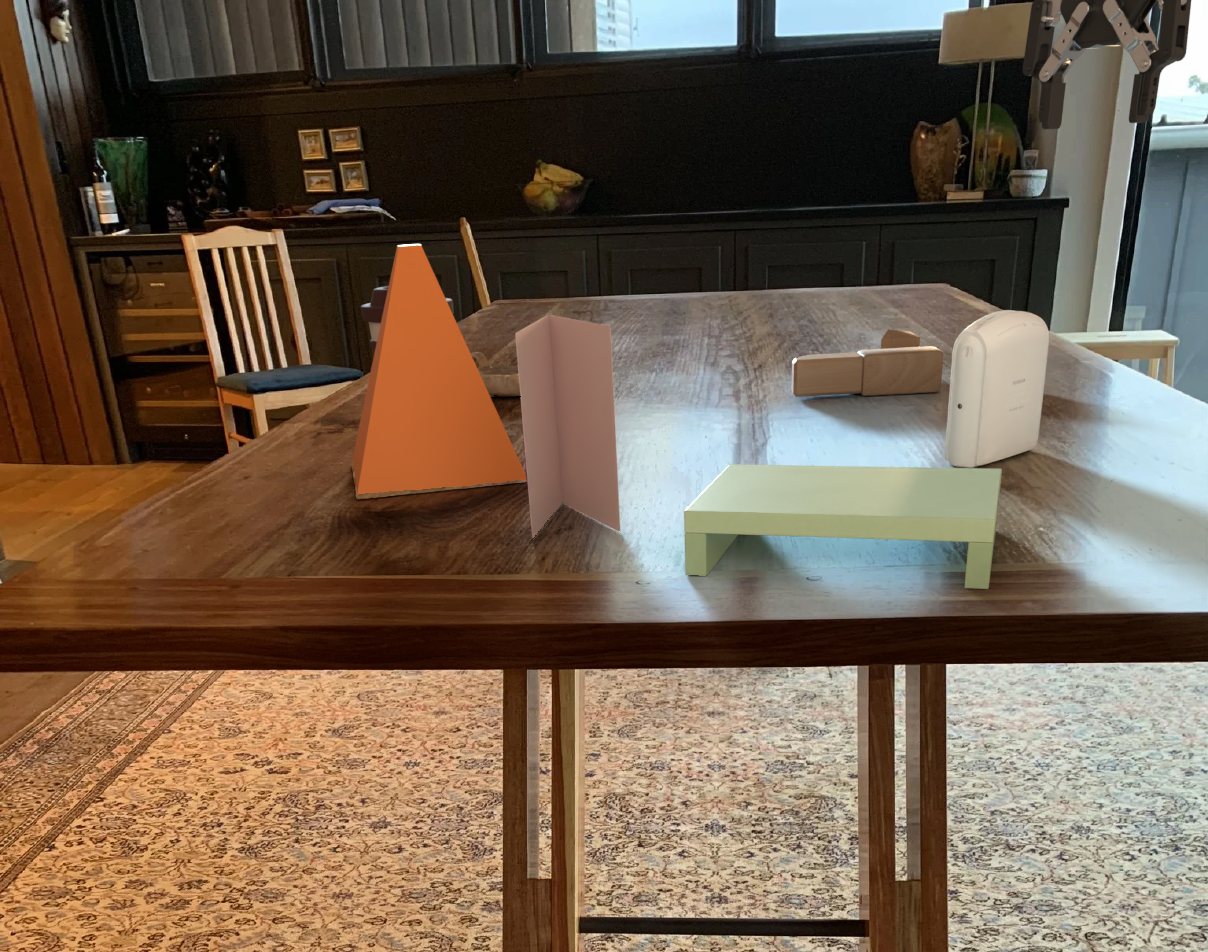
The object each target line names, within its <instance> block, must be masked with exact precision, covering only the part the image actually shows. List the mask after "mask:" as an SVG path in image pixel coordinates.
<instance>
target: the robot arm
mask: <svg viewBox="0 0 1208 952" xmlns="http://www.w3.org/2000/svg"><path fill="white" fill-rule="evenodd" d="M1156 3H1157V5H1158V9H1159V11H1161V23H1160V34H1159V43H1158V44H1159V45H1158V44H1157V37H1156V35H1155V33H1154V31H1153V30H1152V27H1151V25H1150V23H1149V22H1148V20H1147V17H1148V15H1149V13H1150V12H1151V11H1152V9H1153V8H1154V6H1155V4H1156ZM1191 7H1192V0H1033V2H1032V3H1031V6H1030V14H1029V21H1028V27H1027V36H1026V42H1025V49H1024V56H1023V63H1022V74H1023V76H1026V77H1031V78H1035V79H1037V80H1039V82H1040V84H1041V85H1040V95H1039V96H1040V98H1039V106H1038V115H1037V116H1038V121H1039V123H1041V128H1042V129H1043V130H1045V131H1046V130H1059V129H1060V128H1061V126H1062V120H1063V114H1064V113H1063V112H1064V103H1065V94H1066V85H1067V83H1066V82H1063V80H1064V79H1065V77H1066V76H1067V75H1068V73H1069V71H1070V70H1071V68H1072V66H1073V65H1074V64H1075V62H1076V61H1077V60H1079V59H1080V58H1081V57H1082V56H1083V55H1084V53H1085V51H1086V50H1095V49H1102V48H1104V47H1123V49H1124V51H1126V52H1127V53H1129V55H1130V57H1131V59H1132V61H1133V63H1134V65H1135V66H1136V68H1137V69H1136V70H1137V71H1138V73H1135V74H1134V75H1133V84H1132V90H1131V98H1130V105H1129V113H1128V122H1129V124H1141V123H1147V122H1148V120H1149V117H1150V115H1153V113H1154V112H1155V109H1156V106H1157V98H1158V92H1159V84H1160V80H1161V79H1160V78H1161V74H1162V72H1163V70H1164V69H1165V68H1166V67H1168V66H1170V65H1172V64H1174V63H1176V62H1181V61H1183V60H1184V58H1185V57H1186V54H1187V48H1188V38H1189V37H1188V36H1189V30H1190V29H1189V28H1190V18H1191V9H1192V8H1191ZM1061 17H1062V18H1063V21H1064V22H1065V24H1066V25H1065V27H1064V29H1063V30H1062V32H1061V33H1060V34H1059V36H1058V38H1057V39H1056V41H1055V42H1054V36H1055V27H1056V26H1057V25H1058V23H1059V22H1060V21H1061ZM1053 42H1054V44H1053Z"/></svg>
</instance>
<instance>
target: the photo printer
mask: <svg viewBox="0 0 1208 952" xmlns="http://www.w3.org/2000/svg"><path fill="white" fill-rule="evenodd" d="M1049 345H1050V333H1049V328H1048V325H1047V323H1046V322H1045V320H1044V319H1043V318H1042V317H1040V316H1039V315H1037V314H1034V313H1032V312H1029V311H1025V310H1024V311H1023V310H1011V309H1005V310H999V311H994V312H991V313H989V314H987V315H984V316H982V317H980V318H978V319H976V320H975V321H973V322H972V323H970V325H968V326H967V327H966V328H964V329H963V330H962V331H961V332H960V334H959V335H958V336H957V338H956V339H955V341H954V344H953V346H952V353H951V366H950V367H951V368H950V379H949V380H950V382H949V393H948V394H949V395H948V408H947V419H946V432H945V447H944V460H945V461H947V462H948V464H949V465H950V466H953V467H956V468H977V467H979V466H984V465H987V464H991V463H994V462H997V461H1000V460H1004V459H1008V458H1010V457H1014V456H1016V455H1019V454H1022V453H1025V452H1028V451H1030V450H1033V449H1035V448H1036V447H1037V444H1038V441H1039V436H1040V427H1041V418H1042V409H1043V401H1044V400H1043V399H1044V391H1045V384H1046V373H1047V364H1048V363H1047V362H1048V354H1049Z"/></svg>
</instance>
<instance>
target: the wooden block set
mask: <svg viewBox="0 0 1208 952" xmlns="http://www.w3.org/2000/svg"><path fill="white" fill-rule="evenodd" d="M944 357H945V356H944V351H943V350H941V349H939V348H937V347H936V346H933V345H926V346H924V345H923V346H921V337H920V336H919V335H917V334H916V333H914V332H912V331H908V330H899V329H887V330H886V332H885V333H884V334H883V336H882V337H881V340H880V348H873V349H872V348H871V349H870V348H869V349H860V350H858V351H850V352H832V353H813V354H807V355H801V356H798V357H795V358H793V360H792V362H791V393H792V394H793V395H794V396H795V397H796V398H799V397H801V398H802V397H817V396H836V395H855V394H860V395H861V396H862V397H877V396H878V397H879V396H897V395H914V394H932V393H934V394H935V393H939V392H940V391H941V389H942V380H943V370H944V369H943V366H944Z"/></svg>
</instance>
